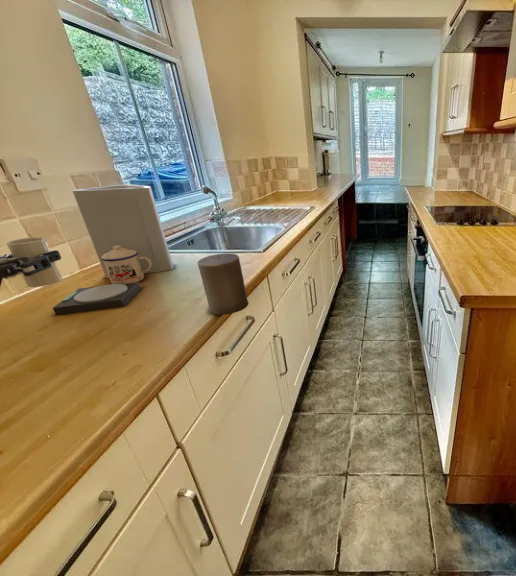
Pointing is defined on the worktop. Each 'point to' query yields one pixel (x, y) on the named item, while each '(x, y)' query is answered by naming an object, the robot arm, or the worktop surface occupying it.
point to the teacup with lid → (124, 265)
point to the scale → (97, 298)
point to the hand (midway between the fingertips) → (44, 254)
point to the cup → (34, 248)
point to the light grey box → (125, 223)
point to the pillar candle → (223, 283)
